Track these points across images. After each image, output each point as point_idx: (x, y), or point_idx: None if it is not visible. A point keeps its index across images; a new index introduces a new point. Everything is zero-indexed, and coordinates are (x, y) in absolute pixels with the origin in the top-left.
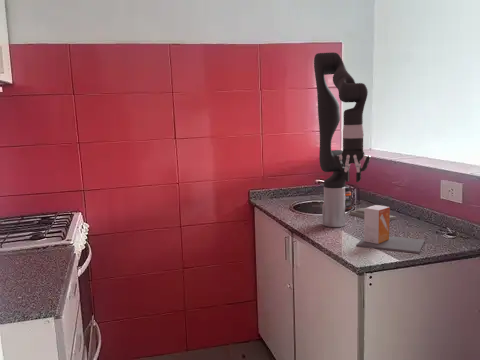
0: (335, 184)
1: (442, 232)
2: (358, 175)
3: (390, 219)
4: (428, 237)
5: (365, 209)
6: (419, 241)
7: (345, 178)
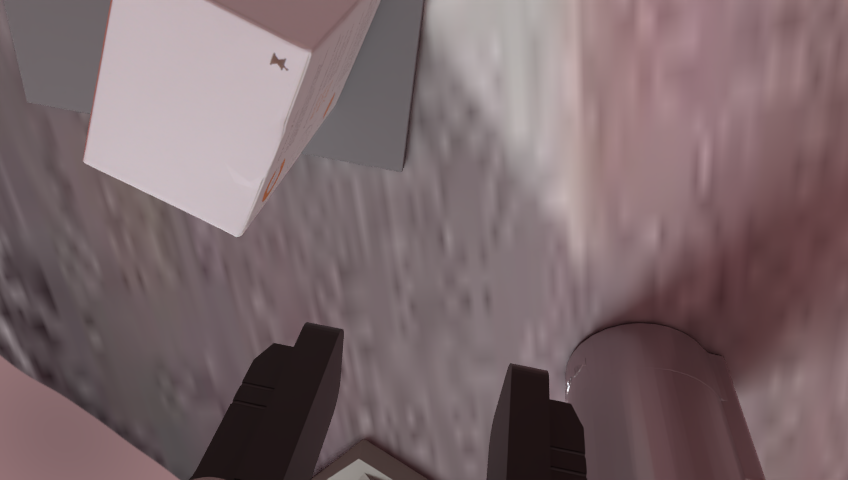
0: None
1: (19, 291)
2: (258, 435)
3: (319, 476)
4: (47, 187)
5: (302, 38)
6: (42, 53)
7: (565, 431)
